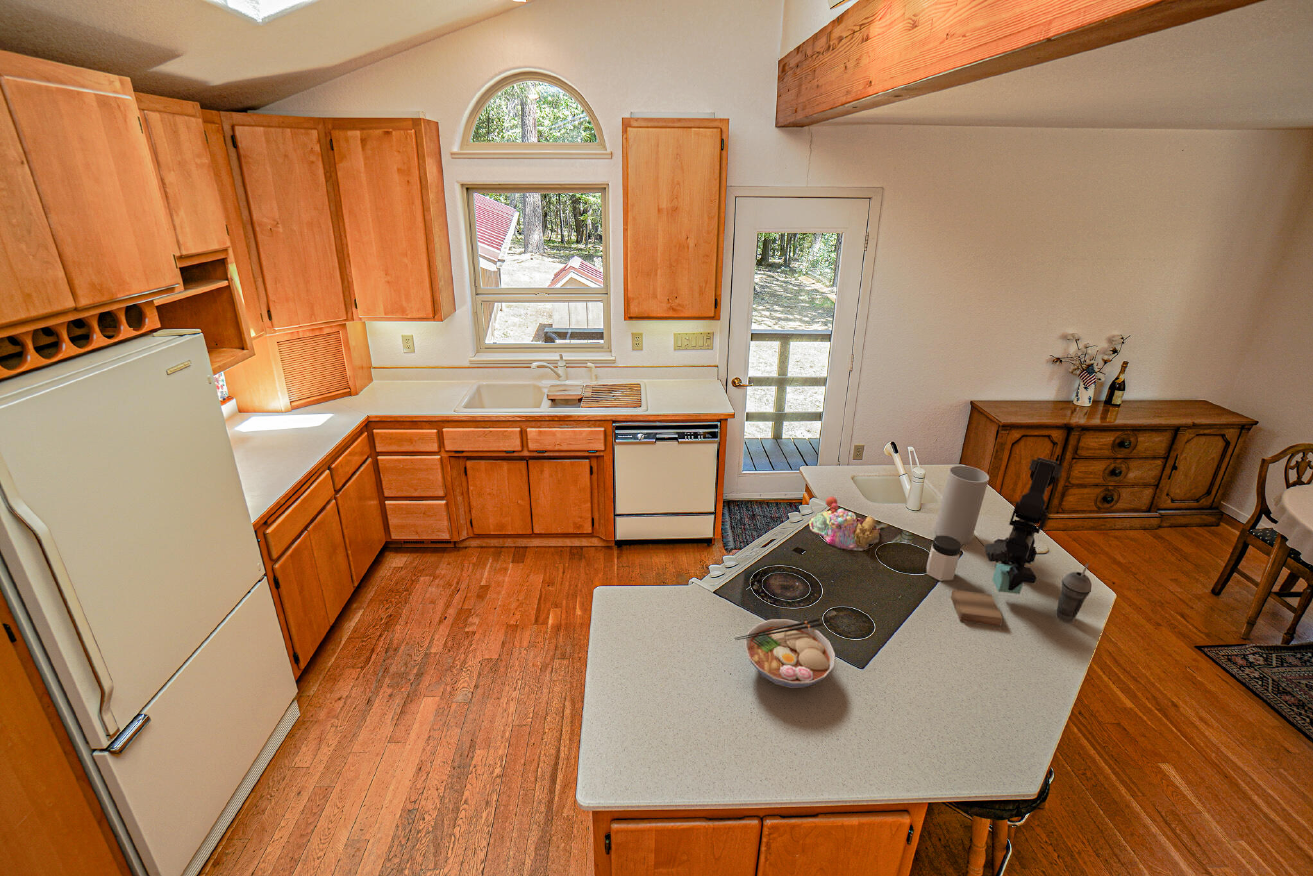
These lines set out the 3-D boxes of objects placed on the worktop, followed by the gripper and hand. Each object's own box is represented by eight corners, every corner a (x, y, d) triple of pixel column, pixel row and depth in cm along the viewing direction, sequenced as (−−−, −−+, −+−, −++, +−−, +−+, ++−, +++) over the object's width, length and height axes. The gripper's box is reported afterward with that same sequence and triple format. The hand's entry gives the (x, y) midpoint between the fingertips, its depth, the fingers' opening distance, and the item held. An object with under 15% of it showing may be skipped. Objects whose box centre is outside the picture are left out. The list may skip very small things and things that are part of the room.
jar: (925, 562, 210) (933, 532, 205) (952, 568, 207) (960, 537, 202) (926, 578, 202) (934, 546, 197) (953, 584, 200) (962, 552, 195)
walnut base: (950, 597, 193) (952, 589, 192) (988, 602, 192) (991, 594, 190) (960, 621, 183) (962, 613, 182) (1000, 626, 182) (1002, 618, 181)
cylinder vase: (926, 528, 229) (941, 467, 219) (954, 524, 233) (970, 463, 223) (950, 547, 218) (967, 484, 208) (979, 542, 222) (997, 479, 212)
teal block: (992, 579, 194) (997, 563, 192) (1012, 581, 193) (1018, 565, 191) (998, 591, 189) (1003, 574, 186) (1019, 594, 188) (1025, 577, 186)
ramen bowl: (759, 714, 150) (763, 689, 147) (725, 648, 170) (727, 624, 167) (852, 695, 157) (857, 670, 153) (808, 633, 177) (812, 610, 173)
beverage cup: (1071, 610, 189) (1092, 554, 181) (1083, 626, 183) (1106, 569, 175) (1046, 608, 190) (1065, 552, 182) (1057, 624, 183) (1078, 567, 175)
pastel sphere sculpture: (886, 528, 229) (891, 506, 225) (869, 559, 211) (874, 536, 207) (820, 508, 241) (823, 487, 237) (798, 536, 223) (801, 513, 219)
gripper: (982, 520, 194) (970, 562, 200) (1001, 554, 177) (987, 599, 183) (1020, 524, 192) (1007, 567, 199) (1044, 559, 176) (1028, 604, 182)
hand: (1006, 583), depth 191 cm, fingers closed on teal block, 6 cm apart
